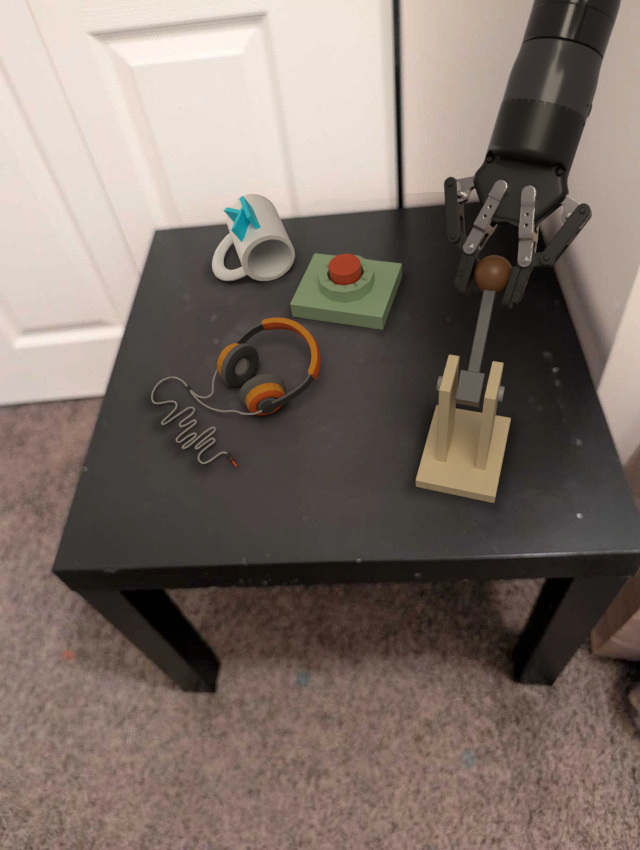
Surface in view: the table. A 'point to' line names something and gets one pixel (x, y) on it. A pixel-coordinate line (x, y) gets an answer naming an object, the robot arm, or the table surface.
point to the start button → (345, 269)
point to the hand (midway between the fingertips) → (484, 300)
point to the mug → (254, 241)
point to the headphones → (250, 379)
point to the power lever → (482, 326)
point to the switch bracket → (465, 440)
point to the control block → (347, 293)
